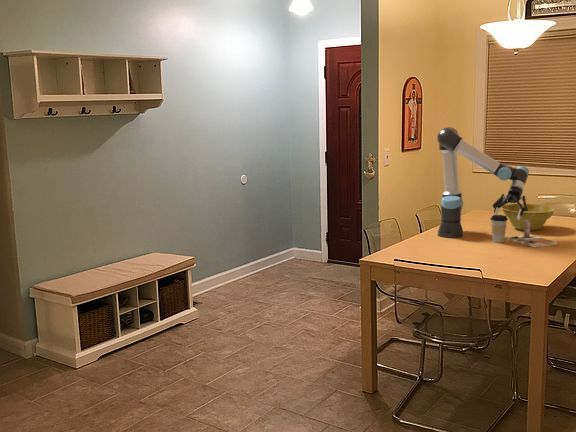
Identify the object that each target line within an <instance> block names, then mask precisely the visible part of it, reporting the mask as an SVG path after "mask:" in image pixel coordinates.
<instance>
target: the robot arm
mask: <svg viewBox="0 0 576 432" xmlns="http://www.w3.org/2000/svg"><path fill="white" fill-rule="evenodd" d="M436 138H437V142H438V146H439V151H440V152H441V153H442V154H441V156H442V157H441V158H442V171H443V172H442V173H443V183H444V184H443V187H444V191H443V192H442V195H441V196H442V198H441V202H440V207H441V209H440V225H439V227H438V230H437V236H439V237H440V238H452V239H454V238H461V237H463V236H464V229H463V226H462V220H461V218H462V209H463V206H464V201H463V195H462V194H463V193H462V191H460V189H459V187H460V186H459V173H458V171H459V170H458V158H457V157H458V155H457V154H459V155H461V156H463V157H465V158H466V159H467V160H469V161H471V162H473V163H474V164H476V165H477V166H479V167H481V168H482V169H484V170H486V171H488V172H489V173H490V174H492V175H493V176H495V177H498V180H501V181H508V180H510V181H511V184H510V186H509V190H508V191H507V194H506V195H505V194H504V193H502V194H501V195H500V197H499V198H498V199H496V201H495V202H494V203H493V204H492V207H493V213H494V214H493V215H499V211H500V208H501V207H502V206H504V205H508V204H518V205H519V207H520V208H521V209H520V210H519V213H518V216H517V220H518V221H519V220H520V217H521V216H522V215H523V213H524V211H528V208H527V205H526V204H527V200H526V199H527V197H526V195H522V194H523V191H524V189H525V185H526V182H527V180H528V177H529V173H530V170H529V168H528V167H527V166H525V165H524V166H521V165H519V166H517V167H516V168H515V167H513V166H510V165H507V164H504V163H501V162H500V161H498V160H496V159H494V158H493V157H491V156H489V155H488V154H486V153H484V152H482V151H481V150H479V149H478V148H476V147H475V146H473V145H471V144H469V143H467V141H465V140H464V138H463V137H461V136H460V133H459V132H458V130H457V129H455V128H453V127H451V126H447V127H443V128H442V129H441V130H440V131H439V132H438V133H437V137H436ZM520 200H521V201H522V203H521V202H520ZM521 204H524V207H525V208H523V207H522V205H521Z"/></svg>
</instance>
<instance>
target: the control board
mask: <svg viewBox="0 0 576 432" xmlns="http://www.w3.org/2000/svg"><path fill="white" fill-rule="evenodd" d="M523 231H524V232H523V234H524V235H516V236H509V237H507V241H511V242H513V241H514V243H518V244H520V243H521V245H524V246H528V247H532V248H541V247H549V246H555V245H558V241H556V240H551V239H547V238H543V237H539V236H536V235H532V234H531V231H530V220H525V227H524V230H523Z"/></svg>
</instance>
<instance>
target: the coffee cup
mask: <svg viewBox="0 0 576 432" xmlns="http://www.w3.org/2000/svg"><path fill="white" fill-rule="evenodd" d="M490 220H491V234H492V242H493V243H497V244H502V243H504V241H505V235H506V230H507V221H508V220H509V218H508V217H507V216H506V215H505V214H503V215H502V214H497V215H494V214H493V215H492V216H491V217H490Z"/></svg>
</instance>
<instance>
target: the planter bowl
mask: <svg viewBox="0 0 576 432" xmlns="http://www.w3.org/2000/svg"><path fill="white" fill-rule="evenodd" d="M520 204H521V205H522V207H523V208H525V207H524V203H520ZM526 205H527V208H528V211H524V213H523V215H522V216H521V217H520V220H519V221H518V220H517V216H518V213H519V210H520V209H521V208H520V207H519V205H518V204H517V203H508V204H505V205H504V206H502V207H500V208H501V209H502V212H503V215H504V216H507V218H508V220H509V222H510V223H511V225H512V227H514V228H515V229H516V230H520V231H524V227H525V220H530V232H531V231H538V230H539V229H542V227H544V225H545V223H546V222H547V220H548V219H550V218H551V217H552V216H553V215H554V212H555V211H556V210H557V209H556V208H555V207H553V206H550V205H544V204H537V203H536V204H534V203H526Z"/></svg>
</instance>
